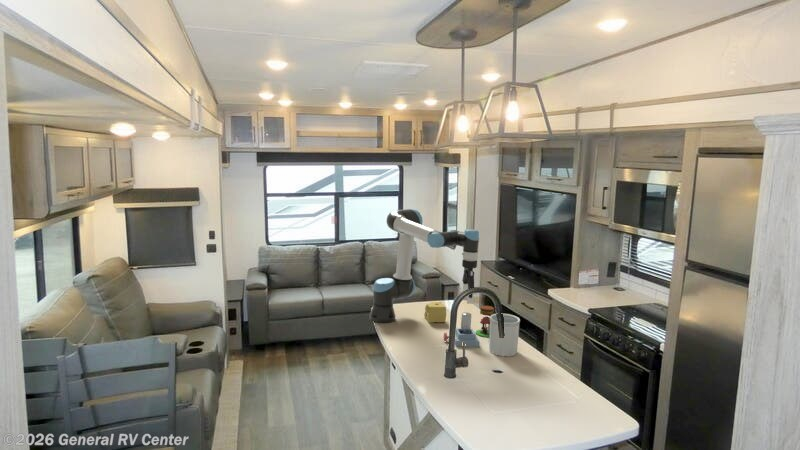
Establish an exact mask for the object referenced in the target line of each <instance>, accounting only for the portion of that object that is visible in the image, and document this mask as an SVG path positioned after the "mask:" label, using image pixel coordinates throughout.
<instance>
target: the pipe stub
mask: <svg viewBox="0 0 800 450" xmlns="http://www.w3.org/2000/svg"><path fill="white" fill-rule="evenodd" d="M471 326H472V313H470V312H462V313H461V321H460V329H461V333H460V334H470V329H472V328H471Z"/></svg>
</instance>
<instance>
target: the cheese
mask: <svg viewBox="0 0 800 450" xmlns="http://www.w3.org/2000/svg"><path fill="white" fill-rule="evenodd" d="M423 316H424V319H425V318H426V319H425V321H427V323H428V322H429V323H428V324H432V323H431V322H445V323H446V319H447V307H446V306H445V305H444V303H443V302H441V301H430V303H426V305H425V307H424V315H423Z"/></svg>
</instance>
